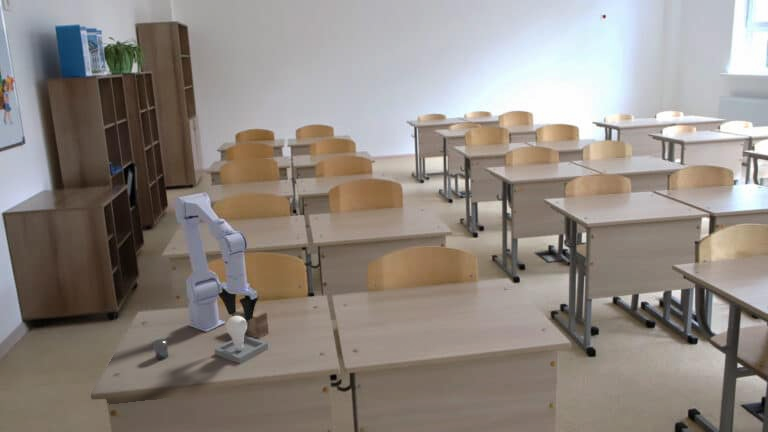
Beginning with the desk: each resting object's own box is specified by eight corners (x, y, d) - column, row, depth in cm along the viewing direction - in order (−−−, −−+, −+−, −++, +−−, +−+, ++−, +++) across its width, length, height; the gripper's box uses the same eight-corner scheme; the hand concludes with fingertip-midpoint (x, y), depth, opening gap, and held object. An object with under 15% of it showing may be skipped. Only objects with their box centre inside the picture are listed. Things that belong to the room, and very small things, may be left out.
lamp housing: (232, 330, 203) (229, 310, 201) (243, 324, 207) (241, 305, 205) (257, 339, 196) (255, 318, 195) (269, 333, 200) (267, 312, 198)
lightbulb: (248, 354, 185) (244, 320, 182) (227, 356, 185) (223, 321, 182) (251, 345, 191) (247, 311, 188) (230, 346, 191) (226, 313, 188)
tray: (215, 354, 188) (214, 348, 187) (243, 340, 196) (242, 334, 196) (240, 363, 181) (239, 358, 181) (268, 348, 190) (267, 343, 189)
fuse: (153, 358, 187) (151, 342, 186) (163, 353, 190) (161, 337, 189) (160, 361, 185) (158, 345, 184) (171, 356, 188) (168, 340, 187)
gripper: (263, 273, 184) (267, 316, 188) (230, 265, 192) (234, 306, 196) (244, 281, 179) (249, 325, 182) (211, 272, 187) (216, 314, 190)
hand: (240, 316), depth 189 cm, fingers open, 7 cm apart
